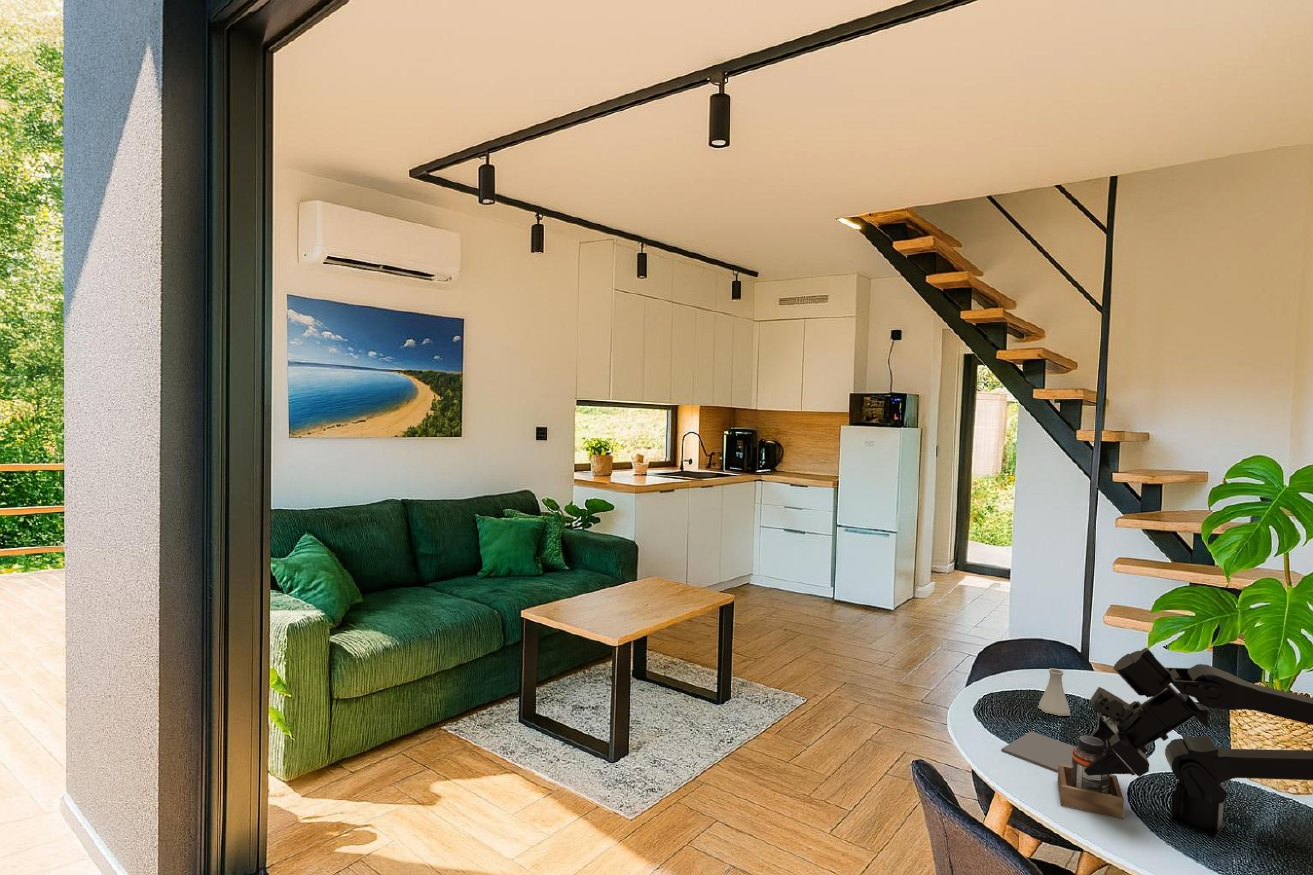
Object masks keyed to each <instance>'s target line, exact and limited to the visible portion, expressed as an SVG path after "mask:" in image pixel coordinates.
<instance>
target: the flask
mask: <svg viewBox="0 0 1313 875" xmlns="http://www.w3.org/2000/svg"><path fill="white" fill-rule="evenodd" d="M1048 673H1049V679H1048V683H1047V686H1046V688H1045V691H1044V692H1043V694H1042V696H1041V698H1040V700H1039V702H1038V704H1039V705H1038V704H1037V709H1038V708H1039V709H1041V710H1042V711H1043V712H1045V713H1050V714H1054V715H1058V716H1070V717H1071V713H1070V712H1071V710H1070V706H1069V704H1068V700H1067V698H1066V694H1065V690H1064V687H1063V686H1064V685H1063V676H1064V671H1063V670H1062V669H1059V668H1049V669H1048ZM1042 711H1041V712H1042ZM1043 712H1042V713H1043ZM1045 713H1044V714H1045Z"/></svg>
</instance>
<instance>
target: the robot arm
mask: <svg viewBox="0 0 1313 875" xmlns="http://www.w3.org/2000/svg"><path fill="white" fill-rule="evenodd" d="M1113 670H1114V671H1115V672H1116V673H1117V674H1118V675H1119V677H1121V678H1122V679H1123V681H1124V682H1126V684H1127V685H1128V686H1129V687H1130V688H1131V689H1132V690H1133V691H1134V693H1136V694H1137V695H1138V696H1145V697H1146V698H1149V699H1147V700H1145V701H1144V702H1142V703H1141V702H1140V701H1139V700H1138V701H1137V700H1134V701H1133V702H1131V703H1128V702H1126V701H1125V700H1123V699H1122V698H1121V697H1119V696H1116V695H1115V694H1113V693H1112V692H1110V691H1108V690H1107V689H1105V688H1102V687H1101V686H1098V687H1097V689H1096V690H1095V692H1094V693H1093V695H1092V696H1091V698H1090V700H1089V702H1090V703H1091V705H1090V707H1091V708H1092V709H1093V710H1094V711H1095V712H1098V713H1097V726H1096V727H1095V729H1094V730H1093V732H1092V733H1091V734H1090V735H1089V736H1093V737H1096V738H1099V739H1101V740H1102V741H1103V742H1104V748H1105V749H1104V752H1103V753H1102V754H1101V755H1100V756H1099V757H1097V758H1096V759H1095V760H1094V761H1093V762H1092V763H1090V764H1089V765H1088V766H1087V767H1086V768H1085V769H1084V772H1085V773H1086V774H1087V775H1088V776H1092V775H1108V774H1111V775H1131V776H1137V777H1139V778H1140V777H1142V776H1144V775H1146V774H1147V773H1148V772H1150V763H1149V760H1148V757H1147V755H1146V754H1145V753H1146V752H1148V751H1149V750H1148V747H1147V746H1149V745H1150V744H1152V743H1154V742H1155V741H1157V740H1158V739H1161V740H1162V741H1163V742H1165V741H1166V740H1168V739H1169V733H1170V732H1172V731H1174V730H1175V729H1177V728H1178V727H1180V726H1182V725H1184V724H1186V723H1187V722H1189V721H1190V720H1192V719H1194V718H1196V720H1197V721H1198V722H1200V724H1201V725H1202V726H1203V727H1206V728H1207V727H1208V726H1209V715H1210V710H1209V709H1208V708H1210V709H1219V710H1227V711H1239V710H1240V711H1242V710H1247V711H1254V712H1255V711H1256V712H1259V713H1263V714H1268V715H1272V716H1274V717H1279V718H1282V719H1286V720H1290V721H1294V722H1298V723H1303V724H1307V725H1310V726H1313V697H1309V696H1305V695H1301V694H1296V693H1293V692H1289V691H1284V690H1280V689H1277V688H1271V687H1268V686H1263V685H1259V684H1256V683H1252V682H1249V681H1247V680H1244V679H1243V678H1240V677H1238V676H1236V675H1234V674H1232V673H1231V672H1226V671H1224V670H1223V669H1220V668H1217V667H1214V666H1212V665H1209V664H1203V663H1198V664H1195V665H1193V666H1192V667H1189V668H1188V667H1187V668H1186V667H1165V665H1163V664H1162V663H1161V662H1160V661H1159V660H1158V659H1157V657H1155V655H1154V653H1153V652H1152V651H1151V650H1150V649H1149V648H1148V647H1144V648H1143V649H1141V650H1136V651H1133V652H1131V653H1126V654H1125V655H1123V656H1122V657H1121V658H1120V659H1118V660H1117V661H1116V663H1115V664H1114V666H1113ZM1171 684H1172V685H1173V686H1172V685H1171ZM1193 698H1194V699H1195V700H1196V701H1197V702H1198V703H1199V704H1201V705H1199V704H1198V703H1197V702H1195V700H1194V699H1193ZM1181 737H1182V738H1180V737H1179V738H1174V739H1172V740H1170V742H1169V743H1167V744H1166V746H1165V749H1164V755H1165V756H1164V757H1165V758H1166V761H1167V763H1168V765H1169V767H1170V769H1171V771H1172V774H1173V775H1174V776H1175V778H1176V779H1177V780H1178V781H1177V783H1176V785H1175V788H1173V790H1171V800H1170V801H1171V802H1170V803H1171V804H1170V812H1171V814H1172V816H1170V821H1171V822H1174V823H1176V824H1178V825H1181V826H1183V827H1186V828H1188V829H1191V830H1194V831H1197V832H1198V833H1201V834H1204V835H1206V836H1209V837H1211V838H1217V837H1218V835H1219V834H1220V833H1221V831H1222V830H1223V829H1224V828H1225V826H1226V822H1225V821H1223V818H1224V817H1223V816H1224V802H1225V800H1226V798H1227V796H1228V792H1227V790H1226V788H1225V787H1224V785H1223V783H1225V782H1228V781H1231V780H1233V779H1257V780H1259V779H1260V780H1261V779H1262V780H1291V781H1292V780H1293V781H1313V750H1309V749H1308V750H1307V749H1306V750H1305V749H1303V750H1302V749H1301V750H1300V749H1262V748H1261V749H1260V748H1259V749H1257V748H1253V749H1252V748H1251V749H1250V748H1247V749H1246V748H1225V747H1221V746H1218V745H1215V743H1214V741H1213V740H1212V738H1211V737H1210V736H1208V735H1201V736H1187V735H1185V734H1182V735H1181Z"/></svg>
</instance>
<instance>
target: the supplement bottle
mask: <svg viewBox="0 0 1313 875" xmlns="http://www.w3.org/2000/svg"><path fill="white" fill-rule="evenodd" d="M1104 751H1105V748H1104V742H1103V741H1102V740H1101V739H1099V738H1096V737H1093V736H1090V735H1085V734H1084V735H1081V736H1079V739H1078V745H1076V746H1075V748H1074V749H1073V757H1072V775H1071V787H1076V788H1080V789H1085V790H1090V791H1094V792H1099V793H1103V794H1108V787H1109V774H1108V775H1092V776H1088V775H1087V774H1086V773H1085V772H1084V769H1085V768H1086V767H1087V766H1088V765H1089V764H1090V763H1092V762H1093V761H1094V760H1095V759H1096V758H1097V757H1099V756H1100V755H1101V754H1102V753H1103V752H1104ZM1108 795H1109V794H1108Z"/></svg>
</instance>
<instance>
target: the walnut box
mask: <svg viewBox="0 0 1313 875" xmlns="http://www.w3.org/2000/svg"><path fill="white" fill-rule="evenodd" d="M1071 775H1072V766H1067V765H1063V764H1058V773H1057V787H1058V788H1057V789H1058V793H1059V795H1058V796H1059V802H1060V806H1064V807H1067V808H1071V809H1075V810H1076V809H1077V810H1080V811H1084V812H1089V813H1092V814H1093V813H1094V814H1097V815H1103V816H1107V817H1111V818H1116V819H1120V820H1123V819H1124V806H1125V800H1124V799H1125V798H1124V795H1123V792H1122V788H1121V785H1120V783H1119V782H1120V781H1119V779H1118V776H1117V774H1109V787H1108V794H1103V793H1099V792H1094V791H1090V790H1085V789H1080V788H1076V787H1071Z"/></svg>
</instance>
